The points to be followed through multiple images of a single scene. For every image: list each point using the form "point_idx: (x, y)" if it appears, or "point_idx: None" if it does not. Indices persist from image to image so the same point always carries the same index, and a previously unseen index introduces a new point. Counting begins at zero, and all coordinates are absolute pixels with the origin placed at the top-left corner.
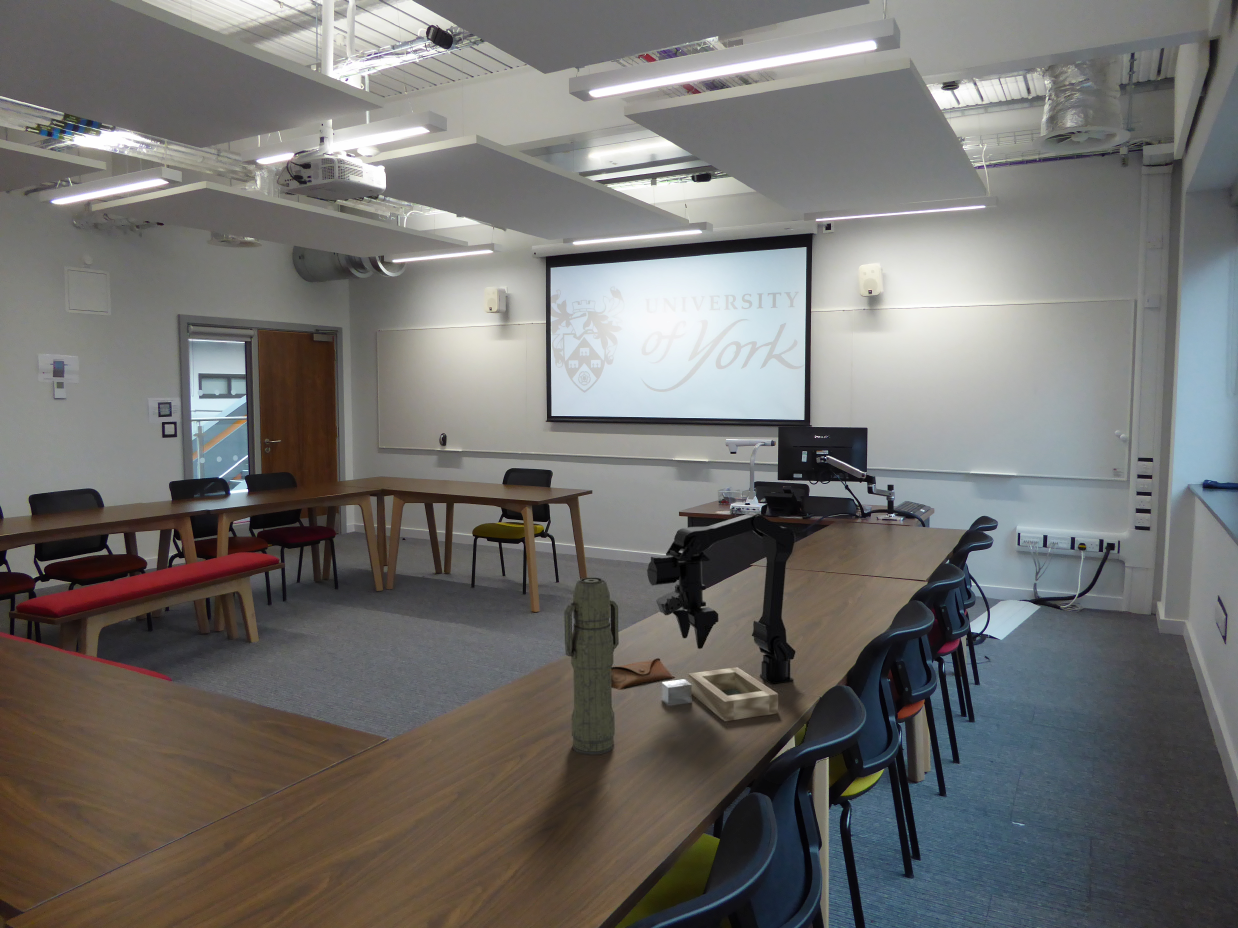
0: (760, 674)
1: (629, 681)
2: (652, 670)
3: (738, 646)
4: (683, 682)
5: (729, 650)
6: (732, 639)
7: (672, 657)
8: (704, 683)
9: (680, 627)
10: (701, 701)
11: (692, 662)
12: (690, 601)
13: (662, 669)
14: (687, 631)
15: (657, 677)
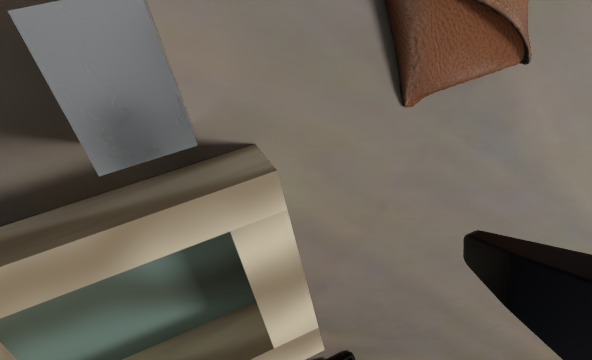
0: (353, 356)
1: None
2: (444, 6)
3: None
4: (136, 132)
5: None
6: None
7: (562, 122)
8: (111, 243)
9: (579, 274)
10: (120, 188)
11: (504, 179)
12: None
13: (449, 60)
14: (511, 301)
15: (399, 26)
